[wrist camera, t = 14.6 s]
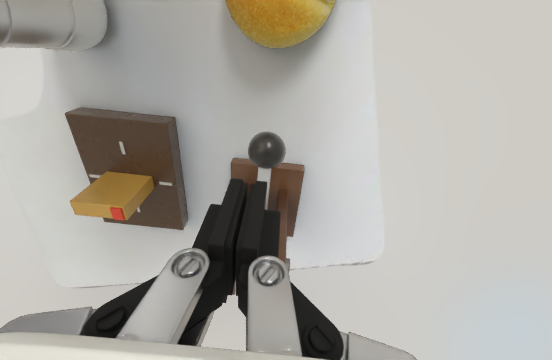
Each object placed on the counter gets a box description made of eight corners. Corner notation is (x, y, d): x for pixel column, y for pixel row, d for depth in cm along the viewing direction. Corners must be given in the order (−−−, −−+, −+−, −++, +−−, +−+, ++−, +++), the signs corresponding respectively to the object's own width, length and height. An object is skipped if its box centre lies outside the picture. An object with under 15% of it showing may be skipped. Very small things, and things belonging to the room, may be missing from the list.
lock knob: (110, 183, 28) (73, 216, 23) (106, 171, 27) (67, 202, 23) (154, 187, 28) (126, 222, 23) (152, 175, 27) (122, 208, 23)
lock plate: (79, 107, 26) (62, 113, 24) (175, 117, 26) (166, 124, 24) (113, 211, 33) (103, 222, 32) (188, 219, 33) (182, 231, 32)
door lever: (251, 132, 23) (247, 127, 20) (286, 135, 23) (288, 131, 20) (238, 268, 24) (233, 285, 21) (272, 272, 24) (271, 289, 21)
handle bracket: (233, 157, 28) (200, 231, 18) (304, 165, 28) (310, 243, 18) (233, 224, 33) (208, 310, 23) (292, 230, 33) (293, 319, 23)
